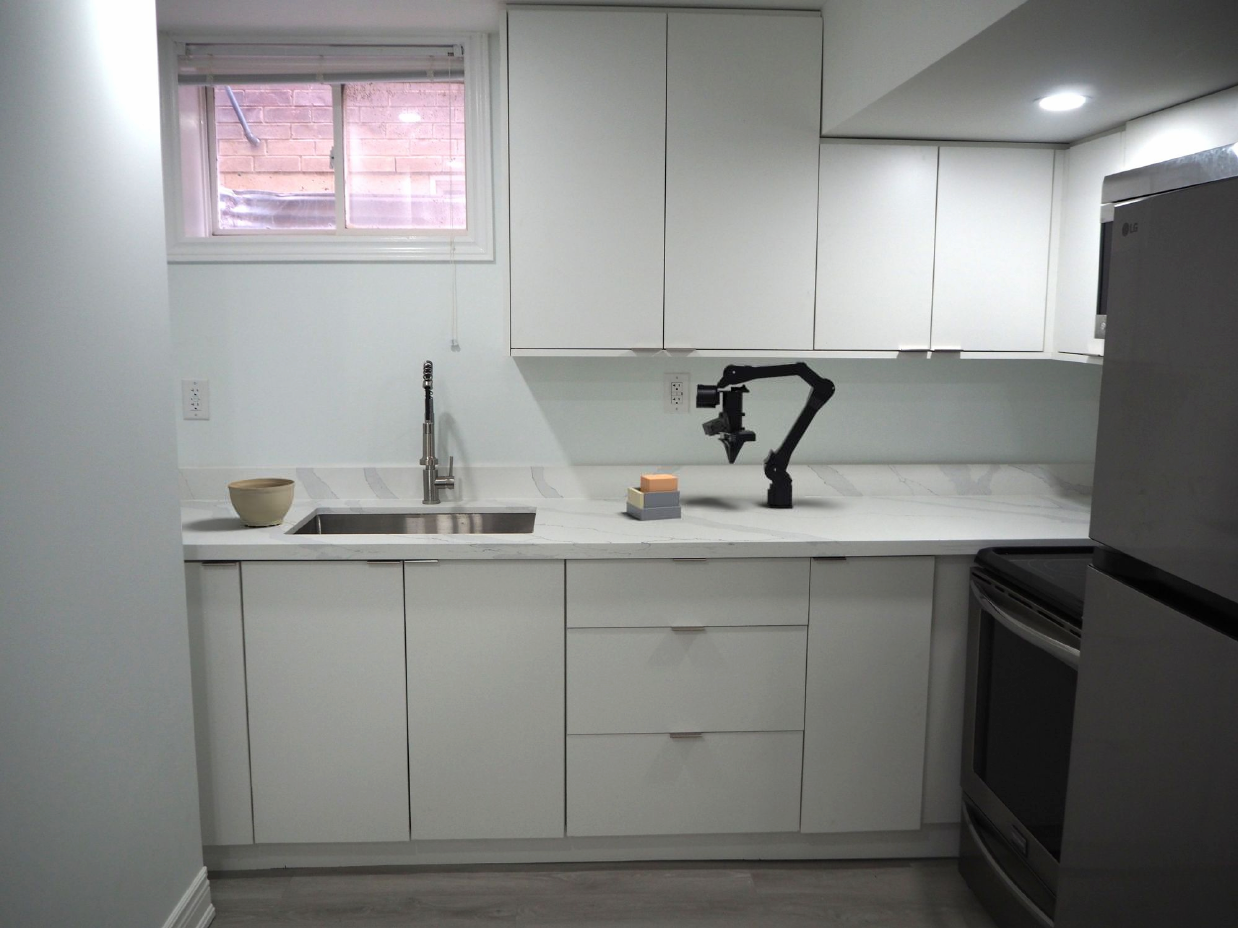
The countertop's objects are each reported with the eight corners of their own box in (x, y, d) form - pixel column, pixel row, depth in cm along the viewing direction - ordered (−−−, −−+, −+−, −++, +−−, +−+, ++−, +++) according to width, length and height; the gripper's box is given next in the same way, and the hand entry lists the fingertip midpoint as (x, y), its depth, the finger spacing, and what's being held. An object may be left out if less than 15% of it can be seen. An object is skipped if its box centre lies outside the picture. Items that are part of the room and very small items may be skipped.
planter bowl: (257, 533, 230) (254, 490, 228) (217, 526, 238) (214, 484, 237) (310, 522, 243) (308, 481, 241) (270, 515, 252) (268, 475, 250)
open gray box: (664, 509, 259) (664, 484, 258) (680, 517, 248) (681, 491, 247) (626, 512, 256) (626, 486, 255) (641, 520, 244) (641, 494, 243)
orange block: (667, 499, 256) (667, 474, 255) (677, 503, 250) (677, 477, 249) (640, 500, 254) (640, 475, 253) (649, 505, 247) (649, 479, 246)
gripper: (692, 406, 268) (692, 460, 270) (720, 412, 250) (719, 469, 253) (728, 405, 271) (727, 458, 274) (757, 411, 254) (756, 467, 256)
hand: (731, 463), depth 264 cm, fingers closed
